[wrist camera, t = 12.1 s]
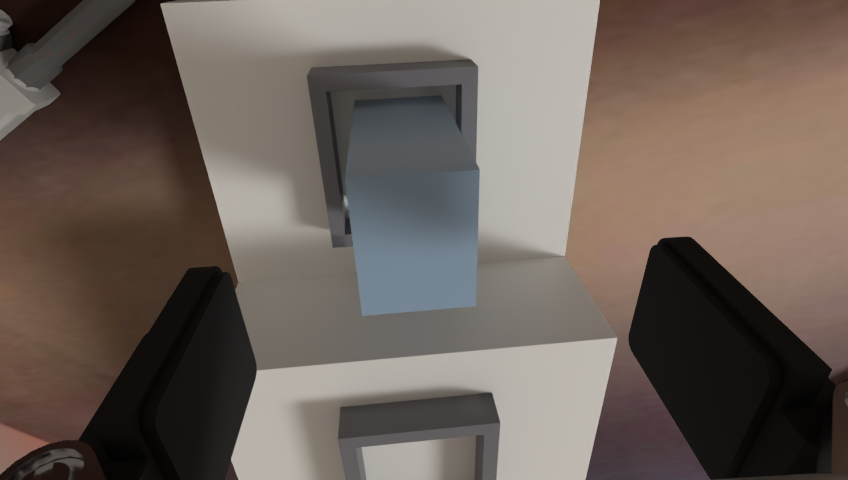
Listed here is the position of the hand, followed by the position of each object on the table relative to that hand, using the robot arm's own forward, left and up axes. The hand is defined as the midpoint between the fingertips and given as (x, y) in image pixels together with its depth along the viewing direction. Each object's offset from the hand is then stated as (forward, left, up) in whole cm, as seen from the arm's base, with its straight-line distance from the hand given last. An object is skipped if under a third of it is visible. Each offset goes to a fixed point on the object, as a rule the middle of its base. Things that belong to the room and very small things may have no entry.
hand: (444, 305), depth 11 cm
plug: (0, 0, -11) cm, 11 cm away
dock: (+6, -1, -13) cm, 14 cm away
